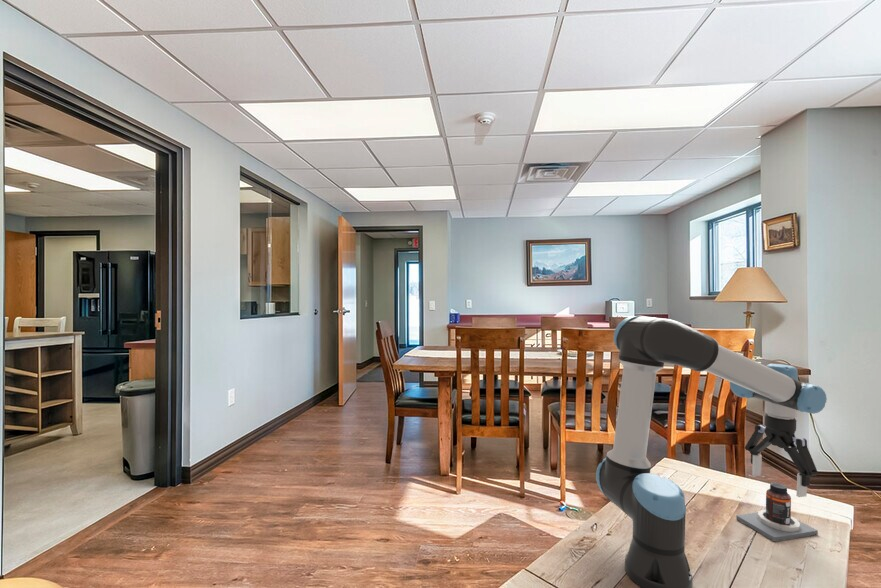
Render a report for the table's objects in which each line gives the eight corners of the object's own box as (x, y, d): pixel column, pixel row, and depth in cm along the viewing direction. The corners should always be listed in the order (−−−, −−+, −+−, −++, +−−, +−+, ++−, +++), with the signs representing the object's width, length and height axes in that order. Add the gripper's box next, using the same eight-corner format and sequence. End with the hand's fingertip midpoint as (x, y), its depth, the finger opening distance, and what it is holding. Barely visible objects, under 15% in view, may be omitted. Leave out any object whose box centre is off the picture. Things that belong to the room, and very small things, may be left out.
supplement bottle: (795, 529, 125) (796, 491, 125) (772, 526, 127) (773, 489, 126) (783, 518, 131) (783, 481, 131) (761, 516, 132) (762, 480, 132)
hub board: (774, 541, 121) (774, 533, 121) (736, 519, 133) (736, 511, 133) (817, 534, 125) (817, 526, 125) (777, 513, 136) (777, 505, 136)
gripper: (836, 428, 117) (833, 504, 117) (751, 404, 141) (749, 467, 142) (815, 430, 115) (812, 507, 116) (733, 404, 140) (731, 468, 140)
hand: (777, 485), depth 129 cm, fingers open, 13 cm apart
